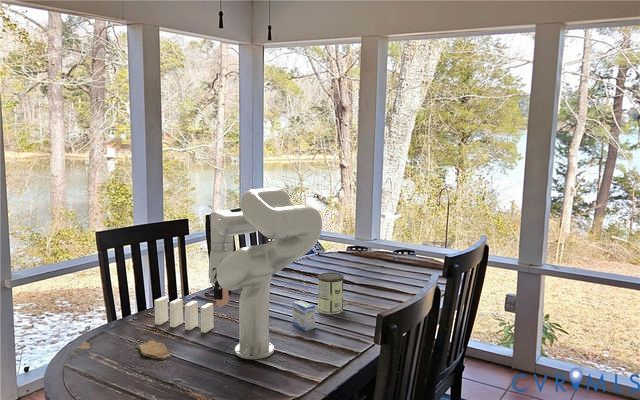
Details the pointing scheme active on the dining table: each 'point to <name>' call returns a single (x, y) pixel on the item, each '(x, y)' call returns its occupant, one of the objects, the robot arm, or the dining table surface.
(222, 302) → the terracotta domino
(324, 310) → the coffee can
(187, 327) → the domino
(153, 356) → the pottery shard
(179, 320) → the domino
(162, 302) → the domino far
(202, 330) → the domino
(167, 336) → the dining table surface
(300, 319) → the medicine box
